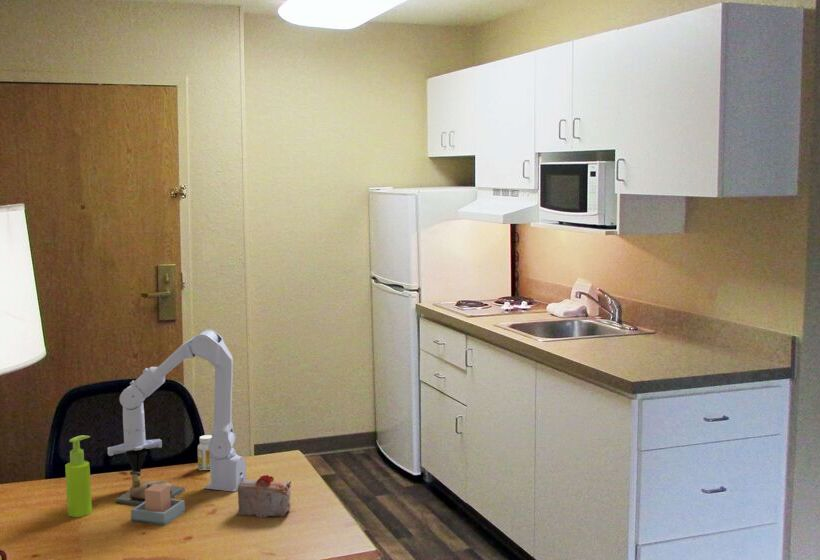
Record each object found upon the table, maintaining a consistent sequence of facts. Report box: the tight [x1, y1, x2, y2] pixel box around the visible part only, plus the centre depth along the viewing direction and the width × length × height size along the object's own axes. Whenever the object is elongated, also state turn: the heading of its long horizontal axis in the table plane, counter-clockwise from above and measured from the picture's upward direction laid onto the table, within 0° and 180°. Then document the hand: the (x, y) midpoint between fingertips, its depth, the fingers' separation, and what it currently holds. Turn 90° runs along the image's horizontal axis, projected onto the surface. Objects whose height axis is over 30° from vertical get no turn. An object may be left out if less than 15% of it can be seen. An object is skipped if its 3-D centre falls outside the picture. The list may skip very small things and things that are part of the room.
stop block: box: [145, 484, 171, 512], centre depth 229 cm, size 4×4×7 cm
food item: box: [237, 474, 292, 518], centre depth 231 cm, size 14×8×10 cm, turn 85°
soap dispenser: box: [64, 434, 93, 518], centre depth 232 cm, size 6×7×20 cm
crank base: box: [115, 485, 186, 506], centre depth 244 cm, size 13×13×1 cm
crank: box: [129, 470, 173, 499], centre depth 244 cm, size 12×11×5 cm
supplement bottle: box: [197, 434, 212, 471], centre depth 266 cm, size 5×5×10 cm
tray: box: [130, 498, 186, 526], centre depth 230 cm, size 10×10×3 cm
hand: (136, 475), depth 251 cm, fingers closed
